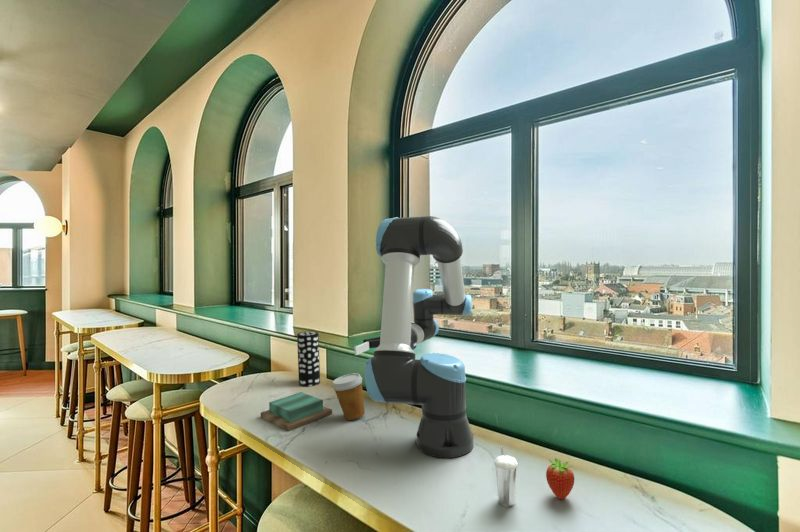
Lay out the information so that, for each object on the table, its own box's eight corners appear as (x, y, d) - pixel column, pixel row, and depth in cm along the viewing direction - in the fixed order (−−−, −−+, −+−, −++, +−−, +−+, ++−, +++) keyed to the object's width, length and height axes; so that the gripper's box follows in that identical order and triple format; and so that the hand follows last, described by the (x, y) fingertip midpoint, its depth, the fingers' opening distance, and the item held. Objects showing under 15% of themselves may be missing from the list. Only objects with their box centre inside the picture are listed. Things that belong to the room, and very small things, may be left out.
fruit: (548, 503, 81) (548, 464, 81) (544, 489, 86) (544, 452, 86) (577, 506, 80) (576, 466, 80) (571, 491, 85) (570, 453, 85)
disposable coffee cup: (374, 407, 130) (366, 371, 130) (362, 421, 121) (353, 382, 121) (348, 409, 133) (339, 374, 133) (334, 423, 124) (326, 385, 124)
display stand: (332, 414, 130) (331, 399, 130) (288, 431, 118) (288, 415, 118) (303, 402, 141) (302, 389, 141) (260, 417, 129) (260, 402, 129)
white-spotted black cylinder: (298, 381, 165) (296, 332, 164) (319, 379, 167) (317, 330, 167) (299, 387, 157) (297, 336, 156) (321, 385, 159) (319, 334, 159)
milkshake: (513, 492, 86) (512, 445, 85) (521, 508, 80) (520, 458, 80) (491, 493, 85) (490, 446, 85) (498, 509, 80) (497, 459, 80)
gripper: (438, 352, 141) (401, 373, 124) (383, 341, 156) (344, 358, 139) (437, 331, 140) (400, 349, 123) (382, 322, 155) (342, 337, 138)
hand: (370, 354), depth 131 cm, fingers open, 13 cm apart
